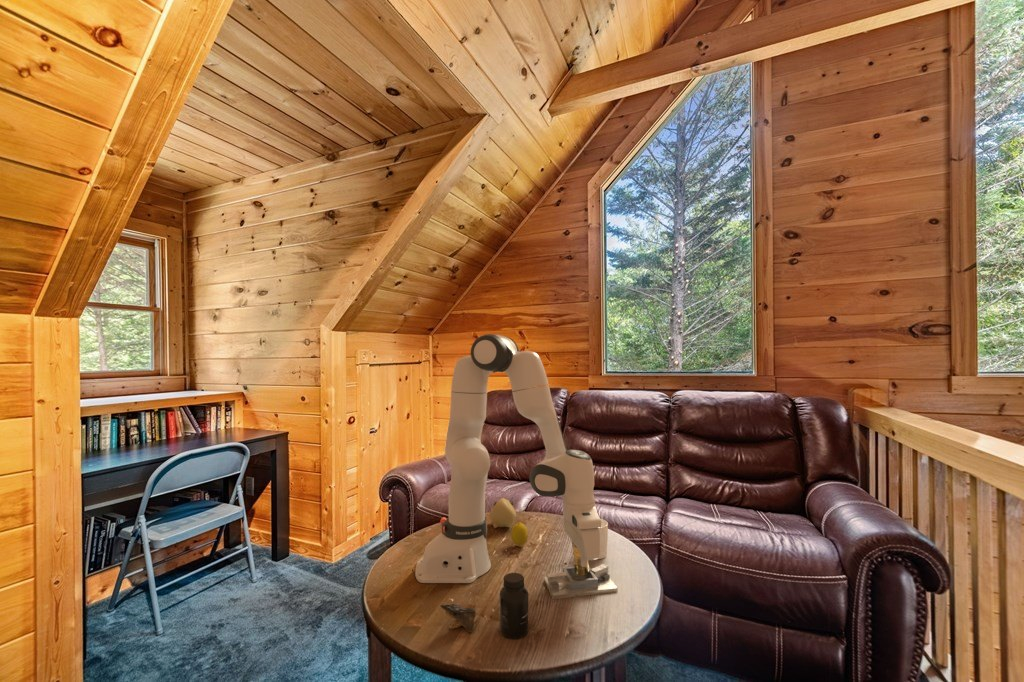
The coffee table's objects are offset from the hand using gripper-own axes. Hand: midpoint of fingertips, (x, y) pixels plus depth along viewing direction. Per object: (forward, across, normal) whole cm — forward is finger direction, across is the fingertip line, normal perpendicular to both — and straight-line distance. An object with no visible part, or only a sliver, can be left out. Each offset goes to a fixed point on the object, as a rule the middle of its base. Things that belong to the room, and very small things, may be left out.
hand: (580, 560), depth 115 cm
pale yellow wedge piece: (+7, -44, -15) cm, 47 cm away
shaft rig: (+7, 0, 0) cm, 7 cm away
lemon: (+7, -26, -12) cm, 30 cm away
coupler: (+3, 0, 0) cm, 3 cm away
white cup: (+7, -16, +11) cm, 21 cm away
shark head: (+7, +11, -34) cm, 37 cm away
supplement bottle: (+7, +14, -21) cm, 27 cm away
